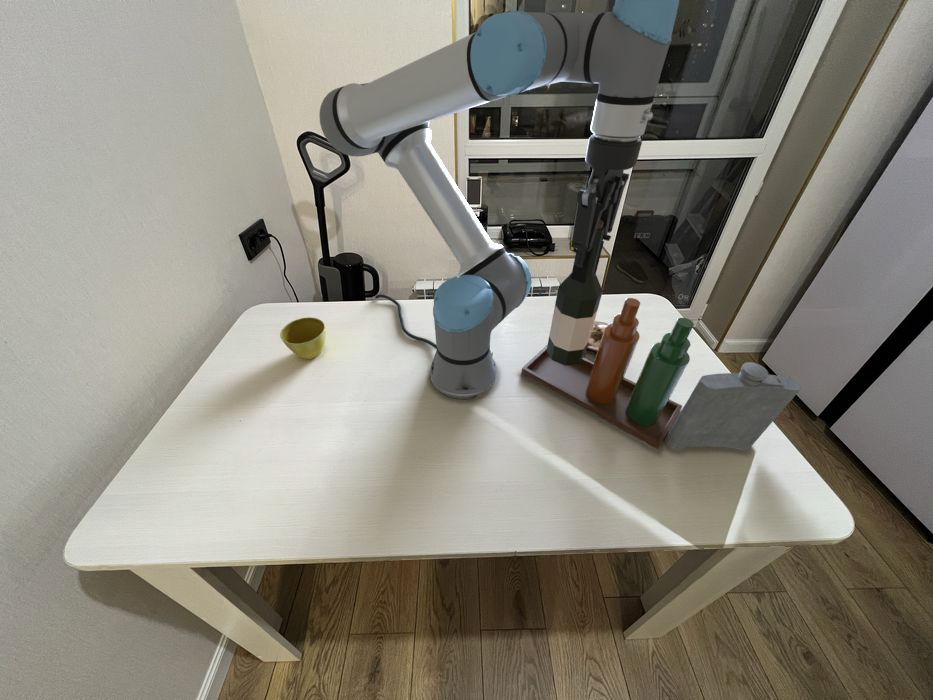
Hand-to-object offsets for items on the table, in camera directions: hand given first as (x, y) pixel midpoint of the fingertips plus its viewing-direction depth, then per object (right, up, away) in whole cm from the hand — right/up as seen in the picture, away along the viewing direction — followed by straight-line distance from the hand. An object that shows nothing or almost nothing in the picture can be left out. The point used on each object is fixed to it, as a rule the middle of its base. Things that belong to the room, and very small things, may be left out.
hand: (583, 275), depth 71 cm
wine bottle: (0, -15, +13) cm, 20 cm away
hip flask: (+25, -32, +3) cm, 41 cm away
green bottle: (+14, -27, +8) cm, 32 cm away
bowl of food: (+11, -12, +26) cm, 31 cm away
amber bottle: (+8, -23, +12) cm, 27 cm away
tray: (+7, -24, +13) cm, 28 cm away
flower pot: (-61, -15, +23) cm, 67 cm away
